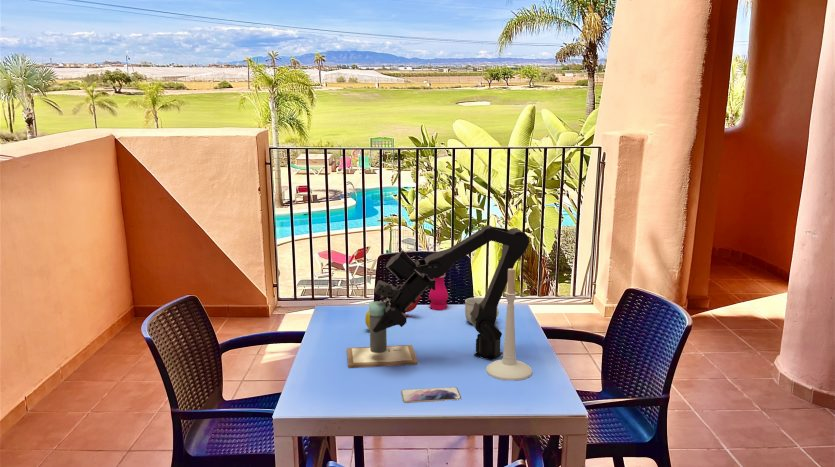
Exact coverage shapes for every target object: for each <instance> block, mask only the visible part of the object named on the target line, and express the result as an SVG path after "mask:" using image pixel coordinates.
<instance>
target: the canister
mask: <svg viewBox="0 0 835 467" xmlns="http://www.w3.org/2000/svg"><path fill="white" fill-rule="evenodd" d="M383 308H384V309H385V310H386V302H382V301H381V300H379V301H378V300H377V301H371V302H369V303H368V310H369V315H370V329H369V347H370V351H371V352H374V353H382V352H385V351H387V346H388V345H387V338H388V336H387V329H384V330H381V331H379V332H376V333H375V332H374V331H373V329H374V328H375V326H376V325H377V323H378V322H379V320H380V319H381V318H382V316H383Z"/></svg>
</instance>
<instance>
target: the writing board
mask: <svg viewBox="0 0 835 467" xmlns="http://www.w3.org/2000/svg"><path fill="white" fill-rule="evenodd" d="M346 354H347V368H348V369H354V368H355V369H356V368H372V367H373V368H374V367H375V368H377V367H391V366H392V367H394V366H395V367H396V366H397V367H398V366H411V365H413V366H414V365H419V361H418V358H417V355H416V353H415V350H414V347H413V345H412V344H406V345H405V344H403V345H401V344H400V345H399V344H398V345H387V351H385V352H382V353H374V352H371V351H370V346H363V347H362V346H359V347H347V348H346Z"/></svg>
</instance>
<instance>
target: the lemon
mask: <svg viewBox="0 0 835 467" xmlns="http://www.w3.org/2000/svg"><path fill="white" fill-rule="evenodd" d="M364 320H365V325H366V327H367V328H368V329H369V330H370V315H369V309H368V310H367V312H366V313H365V319H364Z"/></svg>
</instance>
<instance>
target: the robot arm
mask: <svg viewBox="0 0 835 467" xmlns="http://www.w3.org/2000/svg"><path fill="white" fill-rule="evenodd" d="M489 242H494V243H498V244H502V245H501V246H502V247H501V248H502V249H501V256H500V259H499V261H498V264H497V266H496V269H495V271H494V274H493V276H492V278H491V281H490V283H489V286H488V288H487V290H486V292H485V295H484V297H483V298H484V299H483V301H482V302H481V303H480V304H478V303H476V302H475V304H474V308H473V310H472V312H471V313H470V315H471V322H472V323H471V325H473V327H474V329H475V331H477V332H478V334H476V339H475V353H474V354H473V356H474V357H477V358H482V359H485V360H490V361H495V359H498V358H499V357H501V356H503V352H501V338H502V335H503V333H502V332H501V330H500V328H498V325H496V321H497V318H496V317H497V308H498V306H499V303H500V301H501V298H502V296H503V293H504V292H505V289H506V286H507V284H508V269H511V268H512V269H514V268H515V264H516V263H517V261H519V259H520V258H521V257H522V256H523V255H524V254H525V252H526V250H527V249H528V247H529V246H530V238H529V236H528V234H527V233H525V232H524V231H522V230H521V229H519V228H517V227H513V228H509V229H507V228H502V227H496V226H492V225H490V224H487V225H483V227H482V228H481V229H479V230H477V231H476V232H473V233H472V234H471V235H469V236H467V237H465V238H464V239H462V240H461V241H459V242H457V243H456V244H454V245H453V246H451V247H449V248H446V249H443V250H439V251H436V252H434V253H431V254H428V255H427V256H426V257H425V258H421V259H416V260H413V259H412V258H411V257H410V256H409V255H408V254H407V252H406V251H404V250H403V249H402V250H400V251H399V252H398V253H396V254H395V255H393V256H391V257H390V259H389V260H388V261H387V263H386V265H385V268H387V270H389V271H390V273H392V274H393V275H394V276H395V277H396V278H397V279H398V280H400V281H401V280H403V281H405V280H406V281H405V282H403V283H401V284H398V285H397V286H395V285H392V284H390V283H387V282H385V281H382V280H377V284H376V285H375V288H374V293H375V294H376V295H378V296H380V295H381V296H380V297H381V299H380V301H382V302H386V310H385V309H384V308H383V316H382V318H381V319H380V320H379V322H378V323H377V325H376V326H375V328H374V329H373V331H374V332H375V333H376V332H379V331H381V330H384V329H386V330H387V329H390V328H391V327H392V328H393V327H394V326H400V327H401V328H403V326H405V325H406V324H407V317H406V315H407V314H406V313H408V312H407V311H406V309H407V308H408V307H409V306H410V305H411V304H412V303H414V304H415V303H416V302H417V301H416V299H417V298H418V297H419V296H421V295H422V294H423V293H424V291H425V290H427V288H430V289H431V288H432V289H433V290H435V289H436V288H435V283H436V281H435V279H433V278H439V277H441V276H443V275H444V274H445V275H446V273H447V272H448V271H449V270H451V269H452V267H453V266H454V265H455V264H456V263H457V262H459V261H460V260H462V259H463V258H465V257H466V256H468V255H469V254H471V253H473V252H475V251H477V250H478V249H480V248H482V247H483V246H485V245H487V244H489ZM430 277H431V278H430ZM384 298H385V299H384ZM405 314H406V315H405Z"/></svg>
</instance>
